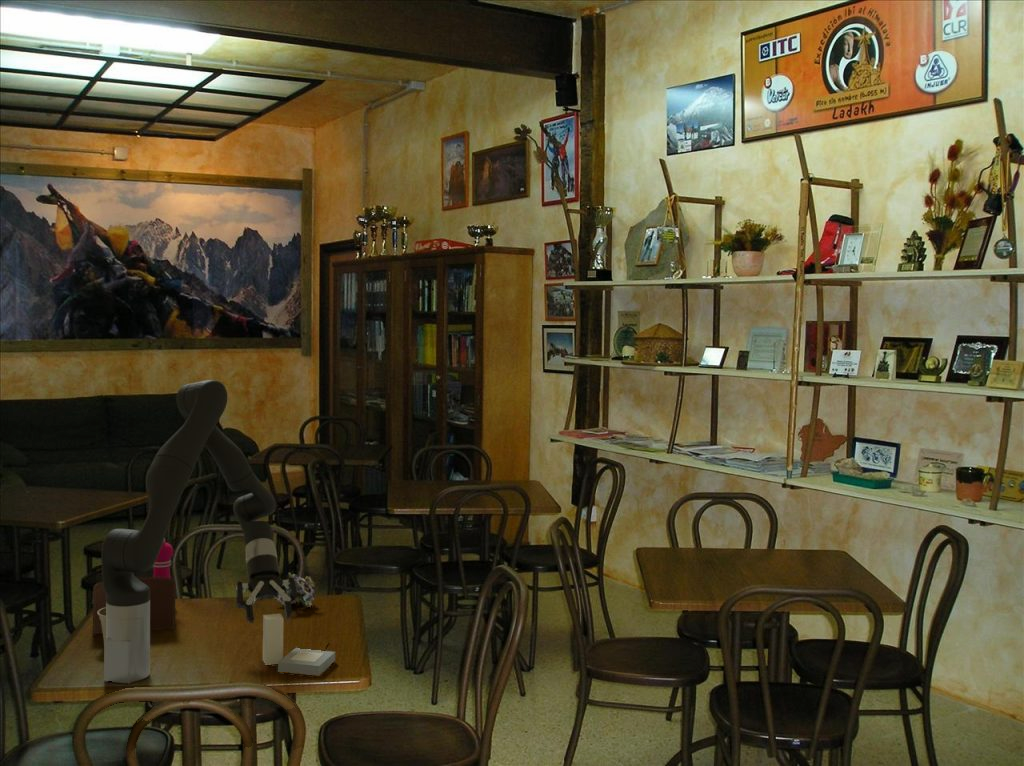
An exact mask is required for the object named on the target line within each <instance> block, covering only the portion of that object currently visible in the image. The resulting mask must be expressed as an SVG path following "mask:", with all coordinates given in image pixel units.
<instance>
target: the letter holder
mask: <svg viewBox="0 0 1024 766" xmlns="http://www.w3.org/2000/svg"><path fill="white" fill-rule="evenodd" d="M135 577H136V578H137V579H138V580H140V581H141V582H143V583H144V584H146V585H147V586H148V587H149V588H150V631H159V630H158V629H163V630H175V629H176V590H177V589H176V588H177V586H176V580H175V579H174V578H172V577H171V578H162V577H153V576H135ZM105 607H106V595H105V592H104V589H103V581H100V582H97V583H94V585H93V587H92V634H93V635H94V634H96V635H103V632H102V625H101V620H100V618H99V615H98V614H97V612H98V611H99V610H100V609H102V608H105ZM174 628H175V629H174ZM155 629H157V630H155Z"/></svg>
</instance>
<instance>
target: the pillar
mask: <svg viewBox="0 0 1024 766" xmlns="http://www.w3.org/2000/svg"><path fill="white" fill-rule="evenodd" d="M284 618H285V617H283V615H282V614H281V613H272V614H271V613H270V614H263V615H262V662H263V661H264V662H263V663H265V664H264V665H271V664H278V662H279V661H280V660H281V659H282V658H284V620H285V619H284Z"/></svg>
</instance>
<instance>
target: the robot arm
mask: <svg viewBox="0 0 1024 766" xmlns="http://www.w3.org/2000/svg"><path fill="white" fill-rule="evenodd" d="M227 403H228V391H227V389H226V386H225V385H224V384H223V383H222V382H221V381H220V380H216V379H215V380H214V379H207V380H201V381H197V382H196V381H195V382H190V383H187V384H184V385H182V386H180V387H179V390H178V391H177V394H176V405H177V408H178V410H179V412H180V414H181V415H182V417H183V418H184V420H185V422H184V423H183V424H182V426H181V427H180V428H179V429H178V430H176V432H175V433H173V435H171V437H169V438H168V440H167V441H165V443H164V444H163V445H162V446H161V447H160V448H159V449H158V451H157V453H156V454H155V456H154V457H153V460H152V462H151V464H150V467H149V468H148V470H147V473H146V475H145V489H146V495H147V499H148V512H147V516H146V518H145V521H144V523H143V524H142V527H141V528H140V529H132V528H131V529H129V528H128V529H127V528H114V529H112V530H110V531H109V532H108V533H107V534H106V535H105V537H104V540H103V541H102V542H103V543H102V546H101V576H102V582H103V589H104V592H105V595H106V639H105V640H103V647H104V648H103V650H104V651H103V655H104V657H103V660H104V661H103V665H104V666H103V668H104V669H103V676H104V678H103V680H104V682H108V681H112V682H111V683H117V684H118V683H119V684H126V683H127V685H128V684H131V683H134V682H139V681H142V680H144V679H147V677H149V676H150V674H151V630H150V588H149V587H148V586H147V585H146V584H144V583H143V582H141V581H140V580H138V579H137V578H136V577H137V576H135V574H134V573H138V574H139V573H142V574H143V573H146V572H148V571H149V570H150V569H152V567H154V566H153V565H154V563H155V561H156V559H157V557H158V555H159V552H160V550H161V547H162V544H163V541H164V538H165V539H166V535H167V531H168V529H169V526H170V524H171V523H170V522H171V520H172V518H173V515H174V513H175V511H176V508H177V506H178V503H179V501H180V499H181V497H182V494H183V493H184V490H186V489H185V488H186V487H187V485H188V482H189V480H190V478H191V476H192V474H193V472H194V469H195V467H196V464H197V462H198V460H199V458H200V456H201V454H202V452H203V449H204V447H205V448H206V449H207V450H208V452H209V453H210V455H211V457H212V458H213V460H214V461H215V463H216V465H217V467H218V470H219V471H220V472H221V473H220V474H222V476H223V479H224V480H225V482H226V484H227V486H228V488H229V490H230V491H231V492H245V491H246V492H249V493H247V494H244V495H242V496H239V497H238V498H236V499H235V501H234V503H233V504H232V505H233V507H232V510H233V513H234V515H235V518H236V519H237V521H238V523H239V526H240V528H241V530H242V534H243V537H244V539H243V540H244V546H245V564H246V570H247V577H248V582H246V583H245V582H243V581H237V583H236V587H235V595H236V607H237V609H241V608H242V609H244V611H245V618H246V621H247V622H249V624H254V620H255V616H254V609H253V605H254V603H255V602H256V601H257V599H258V600H260V601H263V600H266V599H267V600H268V599H269V600H273V599H274V598H276V601H277V602H280V603H281V604H282V603H283V609H284V610H283V611H284V618H285V620H287V621H288V620H290V619H291V617H292V614H293V609H292V604H296V603H297V599H298V595H297V590H296V586H295V582H294V578H293V577H289V578H288V579H282V578H281V574H280V568H279V560H278V554H277V549H276V545H275V542H274V541H275V540H274V535H273V528H272V525H271V524H270V523H269V522H268V521H265V520H260V519H264V518H266V517H268V516H270V515H272V514H274V512H275V511H276V508H277V505H276V504H277V503H276V499H275V497H274V495H273V493H272V492H271V491H270V490H269V489H268V487H266V485H264V484H263V483H262V481H260V479H259V478H258V477H257V475H256V474H255V473H254V470H253V469H252V467H251V465H250V463H249V461H248V459H247V457H246V456H245V453H244V452H243V451H242V450H241V449H240V447H238V445H237V444H235V442H233V441H232V440H231V439H230V438H229V437H227V435H225V433H223V432H222V431H221V429H220V428H219V427H218V426H217V424H218V423H219V420H220V418H222V415H223V414H224V412H225V410H226V407H227ZM283 586H284V588H285V587H286V588H287V589H289V593H290V597H289V596H288V595H287V594H286V593H285V591H284V589H282V587H283ZM246 589H247V590H248V591H250V595H249V597H248V599H247V600H244V593H245V592H246Z"/></svg>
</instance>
